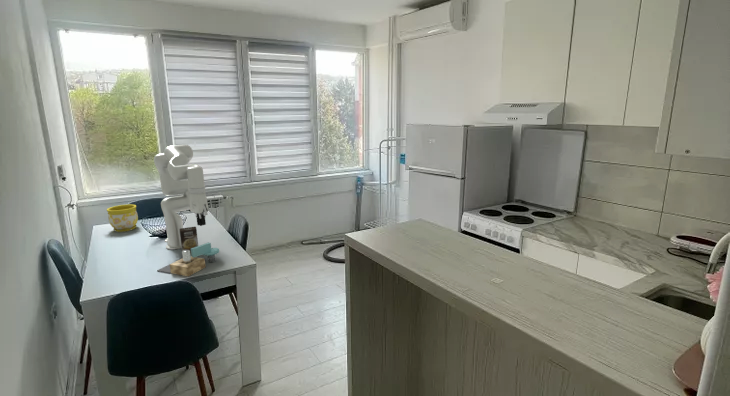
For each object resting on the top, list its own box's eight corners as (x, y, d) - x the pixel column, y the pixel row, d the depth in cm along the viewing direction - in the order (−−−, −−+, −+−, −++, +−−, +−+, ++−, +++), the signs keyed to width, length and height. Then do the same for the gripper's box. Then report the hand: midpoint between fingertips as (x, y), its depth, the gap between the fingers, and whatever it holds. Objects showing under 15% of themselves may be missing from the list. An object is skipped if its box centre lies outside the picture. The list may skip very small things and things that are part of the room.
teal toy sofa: (213, 256, 217) (211, 238, 214) (223, 259, 212) (221, 241, 210) (189, 266, 204) (186, 247, 202) (199, 269, 200) (196, 250, 197)
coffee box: (182, 257, 216) (179, 231, 212) (182, 254, 222) (178, 228, 218) (199, 254, 220) (196, 228, 216) (199, 251, 226) (195, 225, 222)
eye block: (170, 273, 196) (169, 264, 195) (188, 264, 207) (187, 256, 206) (188, 276, 192) (187, 267, 191) (205, 267, 203) (204, 258, 201)
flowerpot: (136, 223, 283) (133, 203, 279) (142, 229, 270) (138, 207, 266) (108, 229, 271) (104, 207, 267) (113, 235, 258) (109, 212, 254)
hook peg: (183, 271, 198) (180, 251, 196) (188, 268, 202) (185, 249, 199) (188, 272, 197) (185, 252, 194) (194, 269, 200) (191, 250, 198)
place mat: (157, 271, 198) (157, 270, 198) (171, 264, 207) (170, 263, 206) (170, 273, 195) (169, 272, 195) (183, 266, 204) (183, 265, 203)
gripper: (182, 190, 191) (186, 224, 195) (199, 193, 182) (203, 229, 187) (195, 187, 197) (199, 220, 201) (212, 190, 188) (216, 225, 193)
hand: (201, 224), depth 194 cm, fingers closed
